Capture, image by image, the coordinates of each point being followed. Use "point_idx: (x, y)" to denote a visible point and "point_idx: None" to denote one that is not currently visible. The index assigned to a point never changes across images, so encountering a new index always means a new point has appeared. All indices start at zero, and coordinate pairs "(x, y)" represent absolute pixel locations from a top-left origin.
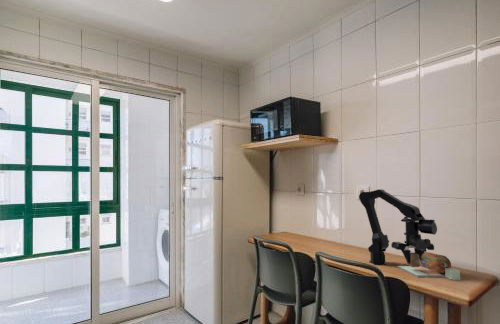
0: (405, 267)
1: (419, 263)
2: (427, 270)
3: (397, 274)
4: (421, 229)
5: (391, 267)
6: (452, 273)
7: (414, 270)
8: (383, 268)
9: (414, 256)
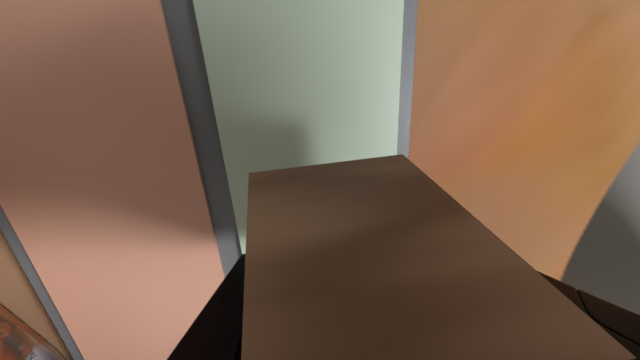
0: None
1: (248, 204)
2: (90, 217)
3: (592, 47)
4: None
5: None
6: None
7: None
8: (562, 261)
9: (445, 305)
